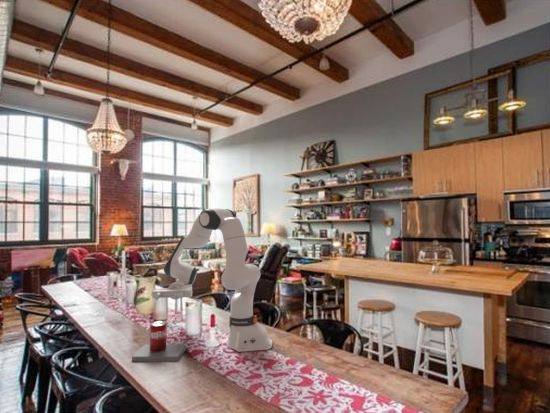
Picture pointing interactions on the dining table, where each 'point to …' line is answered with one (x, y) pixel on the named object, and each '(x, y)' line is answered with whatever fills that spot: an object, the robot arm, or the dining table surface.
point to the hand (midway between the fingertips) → (168, 296)
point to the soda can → (158, 336)
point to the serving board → (160, 353)
